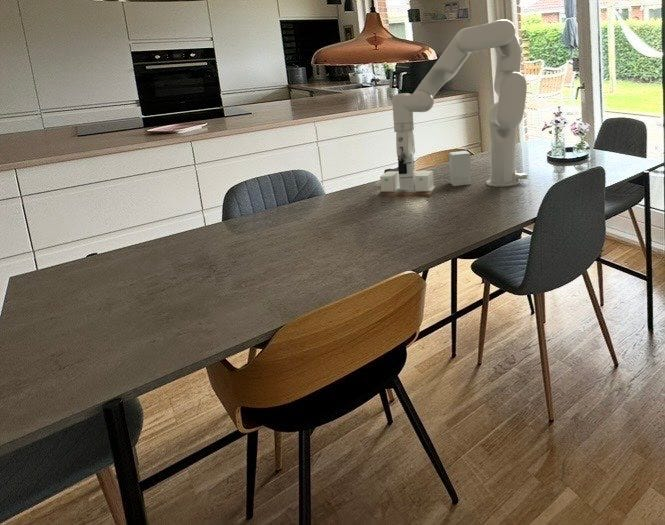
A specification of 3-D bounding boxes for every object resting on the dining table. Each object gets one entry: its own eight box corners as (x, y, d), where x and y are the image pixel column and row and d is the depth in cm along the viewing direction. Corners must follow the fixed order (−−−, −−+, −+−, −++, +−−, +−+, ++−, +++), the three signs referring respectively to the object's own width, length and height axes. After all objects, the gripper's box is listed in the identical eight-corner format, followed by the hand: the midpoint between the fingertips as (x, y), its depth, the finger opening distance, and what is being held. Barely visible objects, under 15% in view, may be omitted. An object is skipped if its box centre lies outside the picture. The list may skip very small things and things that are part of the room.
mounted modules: (433, 185, 226) (432, 170, 223) (427, 191, 218) (427, 176, 215) (388, 185, 233) (387, 171, 231) (380, 191, 225) (379, 176, 223)
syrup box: (414, 189, 222) (412, 152, 217) (399, 190, 223) (397, 153, 218) (415, 186, 227) (413, 150, 222) (401, 187, 229) (398, 151, 224)
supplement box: (471, 184, 228) (470, 153, 224) (452, 186, 228) (451, 155, 224) (467, 180, 235) (466, 150, 231) (449, 182, 235) (448, 152, 231)
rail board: (437, 188, 227) (436, 184, 226) (430, 196, 217) (429, 192, 216) (387, 189, 235) (386, 185, 235) (378, 196, 225) (377, 192, 225)
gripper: (407, 130, 208) (409, 175, 214) (419, 123, 223) (421, 166, 229) (387, 131, 211) (390, 176, 217) (400, 124, 226) (403, 166, 232)
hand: (406, 171), depth 223 cm, fingers open, 9 cm apart
